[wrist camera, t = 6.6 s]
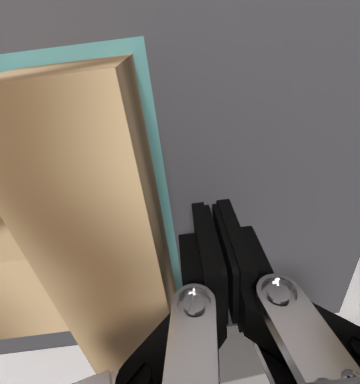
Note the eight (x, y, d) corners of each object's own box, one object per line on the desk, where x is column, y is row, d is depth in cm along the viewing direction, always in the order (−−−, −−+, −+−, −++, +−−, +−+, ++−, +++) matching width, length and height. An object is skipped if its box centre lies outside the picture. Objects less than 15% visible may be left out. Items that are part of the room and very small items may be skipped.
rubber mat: (485, -106, 7) (496, -111, 7) (336, 308, 18) (339, 312, 18) (-466, 17, 8) (-489, 16, 7) (-59, 357, 18) (-62, 362, 18)
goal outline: (144, 35, 9) (143, 35, 9) (186, 306, 17) (186, 310, 17) (-233, 83, 9) (-246, 85, 9) (-11, 330, 17) (-14, 335, 17)
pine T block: (132, 53, 9) (114, 67, 5) (178, 304, 16) (183, 376, 13) (-217, 98, 9) (-450, 141, 5) (-11, 328, 16) (-56, 406, 13)
